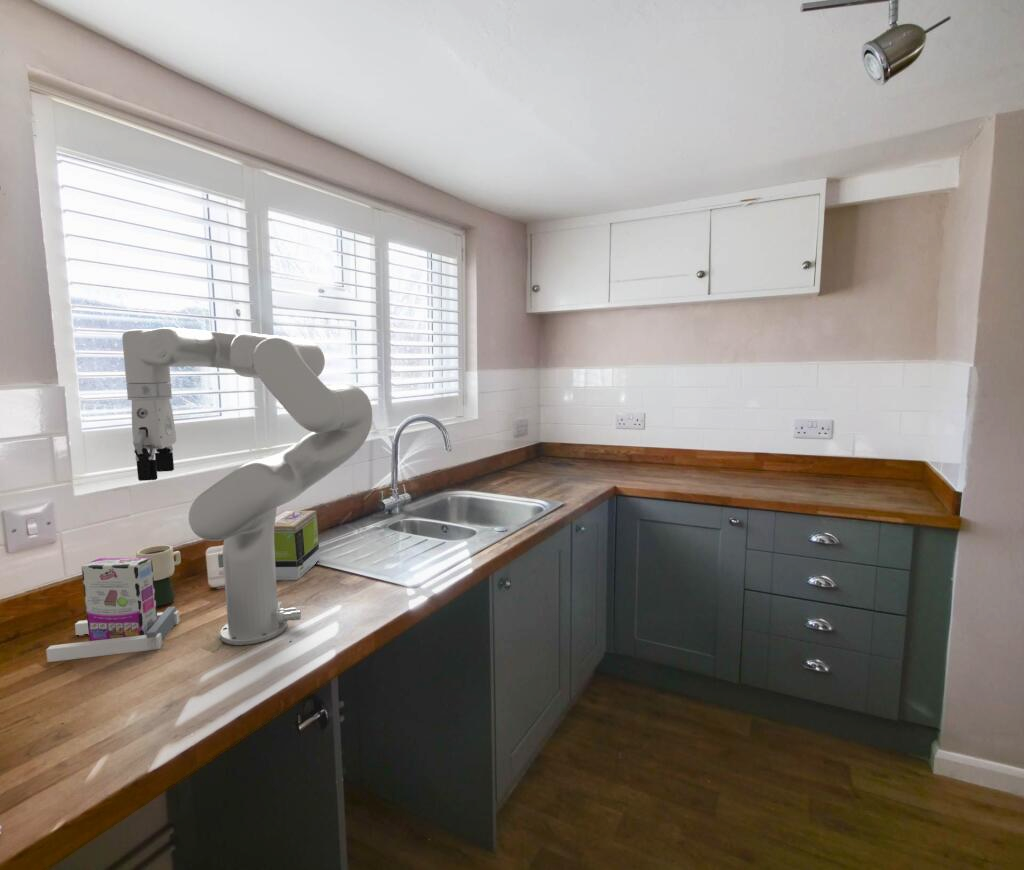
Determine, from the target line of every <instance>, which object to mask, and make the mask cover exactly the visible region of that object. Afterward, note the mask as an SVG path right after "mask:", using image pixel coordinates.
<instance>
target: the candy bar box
mask: <svg viewBox="0 0 1024 870" xmlns="http://www.w3.org/2000/svg"><path fill="white" fill-rule="evenodd" d="M81 573H82V575H81V576H82V584H83V592H84V603H85V611H86V612H85V613H86V620H87V621H88V631H89V634H88V639H89V641H96V640H105V639H113V638H122V637H131V636H140V635H146V633H147V632H148V630H149V629H150V628H151V627H152V626H153V624H154V623H155V622H156V621H157V613H158V611H157V606H156V599H155V588H154V577H153V566H152V558H136V557H115V558H109V557H108V558H107V557H106V558H105V557H104V558H102V557H101V558H97V559H95V560H92V561H90V562H88V563H86V564H83V565H81Z"/></svg>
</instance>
